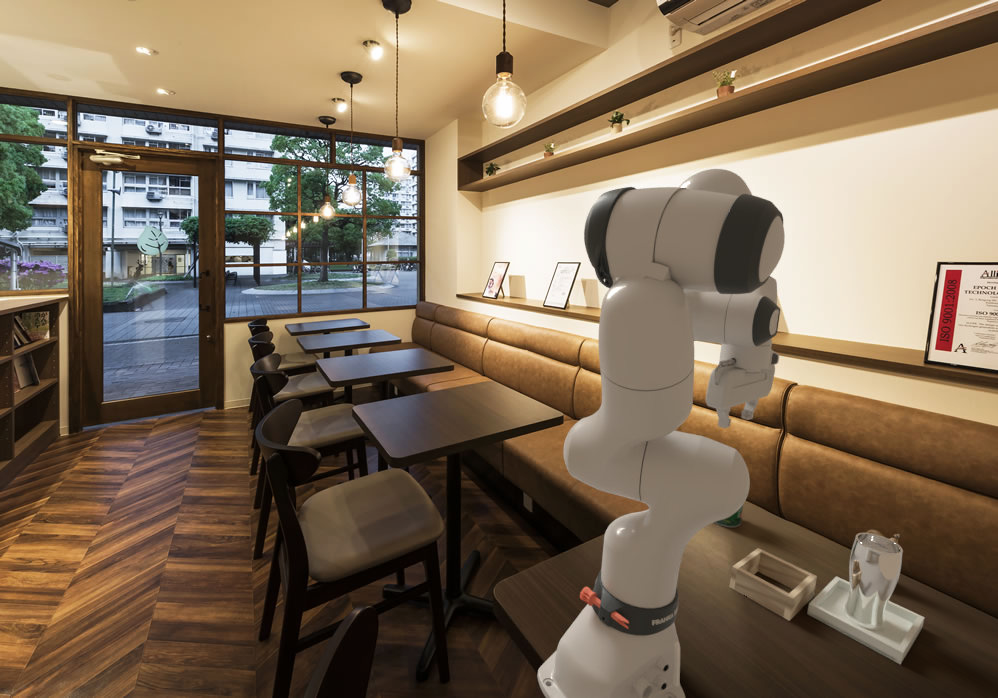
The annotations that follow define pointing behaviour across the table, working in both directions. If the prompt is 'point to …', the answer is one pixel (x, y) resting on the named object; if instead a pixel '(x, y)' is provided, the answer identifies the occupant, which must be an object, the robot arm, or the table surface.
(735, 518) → the canned tomato
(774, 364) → the robot arm
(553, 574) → the table surface
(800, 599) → the square frame
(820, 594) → the tray
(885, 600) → the beer glass
